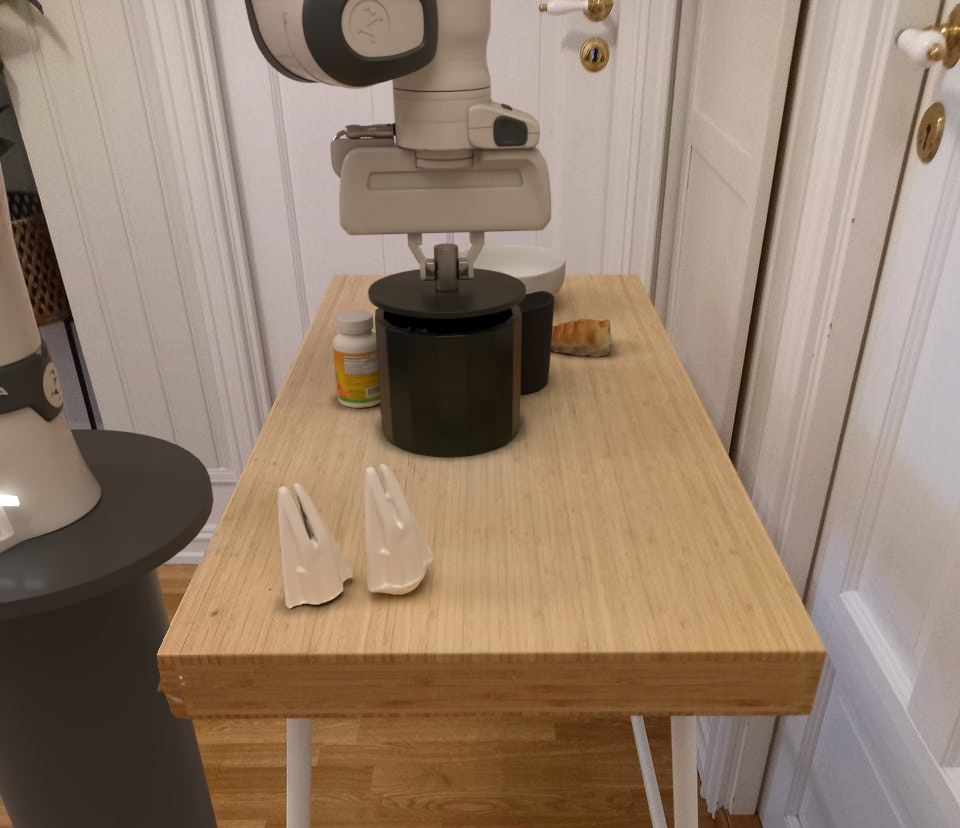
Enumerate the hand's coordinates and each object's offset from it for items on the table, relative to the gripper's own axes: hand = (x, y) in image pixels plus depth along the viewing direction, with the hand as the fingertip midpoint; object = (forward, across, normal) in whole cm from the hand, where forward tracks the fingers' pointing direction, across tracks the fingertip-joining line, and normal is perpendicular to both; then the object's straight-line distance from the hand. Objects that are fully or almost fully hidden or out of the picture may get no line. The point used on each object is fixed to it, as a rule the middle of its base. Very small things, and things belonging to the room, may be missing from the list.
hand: (447, 279), depth 96 cm
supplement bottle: (+16, -10, +9) cm, 21 cm away
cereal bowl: (+16, +10, +42) cm, 46 cm away
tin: (+16, 0, 0) cm, 16 cm away
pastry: (+16, +18, +24) cm, 34 cm away
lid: (+2, 0, 0) cm, 2 cm away
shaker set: (+16, -9, -32) cm, 37 cm away
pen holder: (+16, +8, +13) cm, 22 cm away
